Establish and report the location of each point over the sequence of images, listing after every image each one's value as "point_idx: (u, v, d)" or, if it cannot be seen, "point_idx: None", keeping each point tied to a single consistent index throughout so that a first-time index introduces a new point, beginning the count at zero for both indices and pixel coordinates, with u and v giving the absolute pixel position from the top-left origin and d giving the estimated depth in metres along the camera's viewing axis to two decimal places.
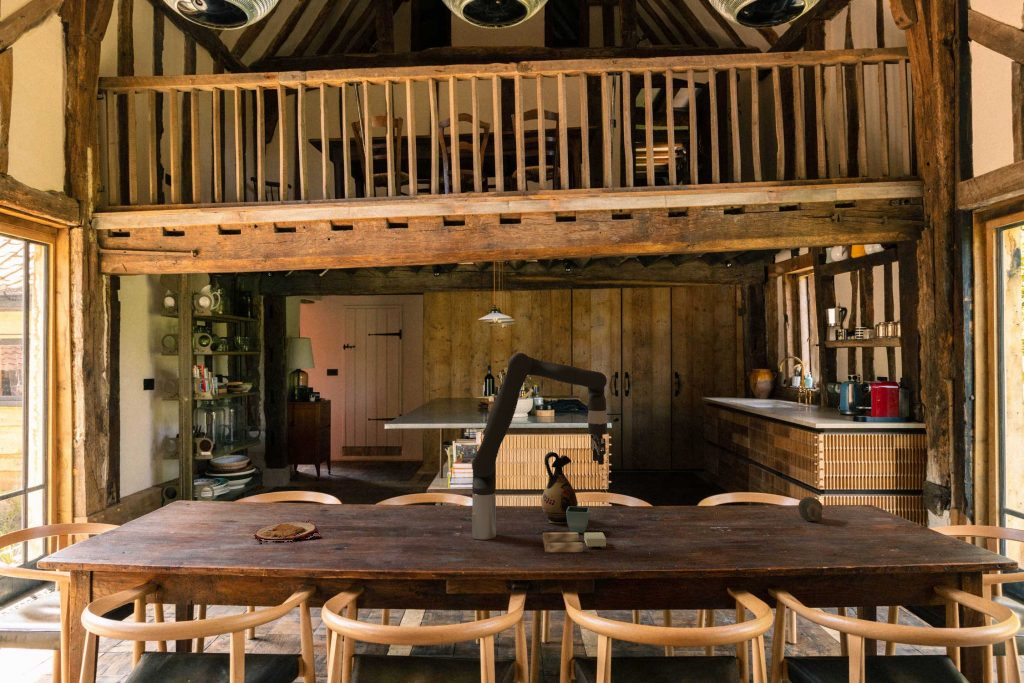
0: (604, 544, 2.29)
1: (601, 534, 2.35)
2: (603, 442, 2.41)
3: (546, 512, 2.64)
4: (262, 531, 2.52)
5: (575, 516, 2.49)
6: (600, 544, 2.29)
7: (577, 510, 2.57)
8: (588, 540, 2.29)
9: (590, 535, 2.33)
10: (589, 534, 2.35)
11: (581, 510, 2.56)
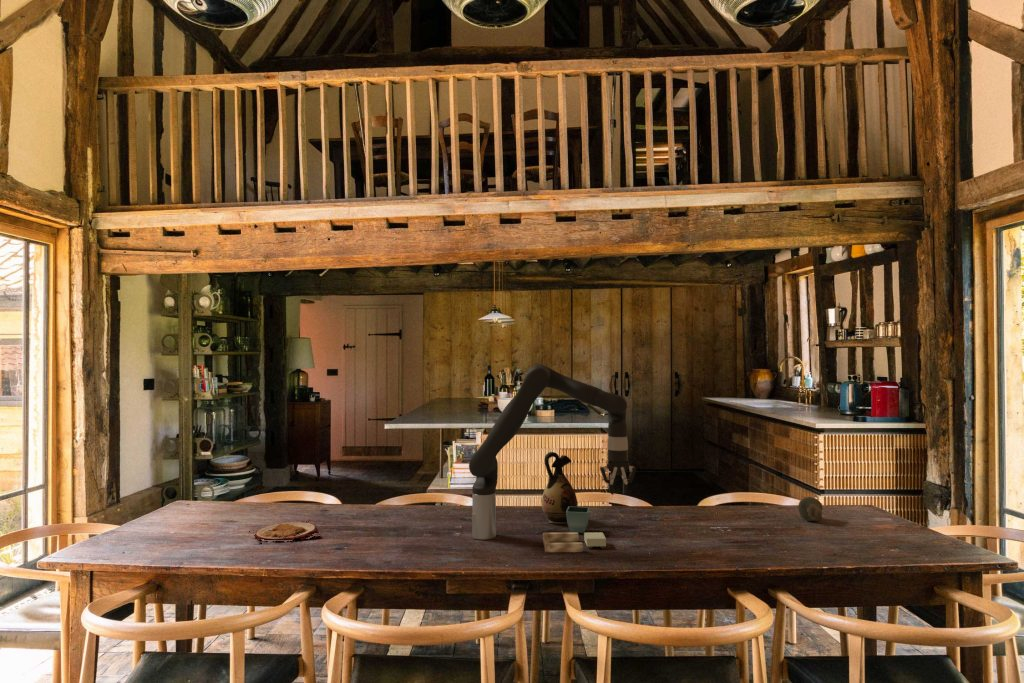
0: (604, 544, 2.29)
1: (601, 534, 2.35)
2: None
3: (546, 512, 2.64)
4: (262, 531, 2.52)
5: (575, 516, 2.49)
6: (600, 544, 2.29)
7: (577, 510, 2.57)
8: (588, 540, 2.29)
9: (590, 535, 2.33)
10: (589, 534, 2.35)
11: (581, 510, 2.56)
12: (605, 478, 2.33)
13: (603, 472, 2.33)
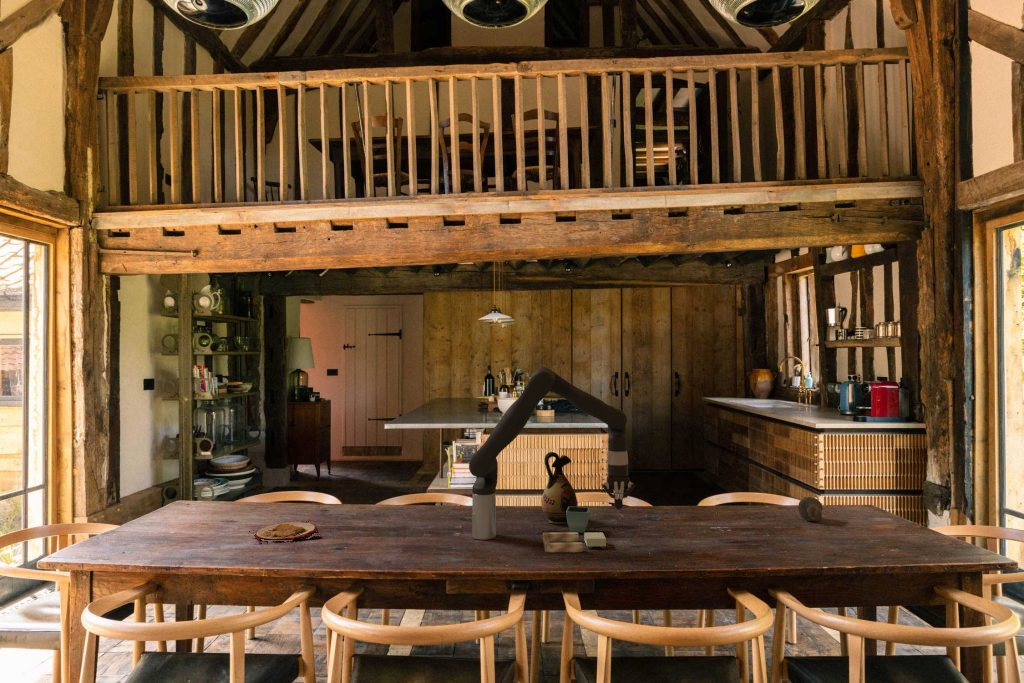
0: (604, 544, 2.29)
1: (601, 534, 2.35)
2: None
3: (546, 512, 2.64)
4: (262, 531, 2.52)
5: (575, 516, 2.49)
6: (600, 544, 2.29)
7: (577, 510, 2.57)
8: (588, 540, 2.29)
9: (590, 535, 2.33)
10: (589, 534, 2.35)
11: (582, 510, 2.56)
12: (609, 494, 2.33)
13: (606, 489, 2.33)
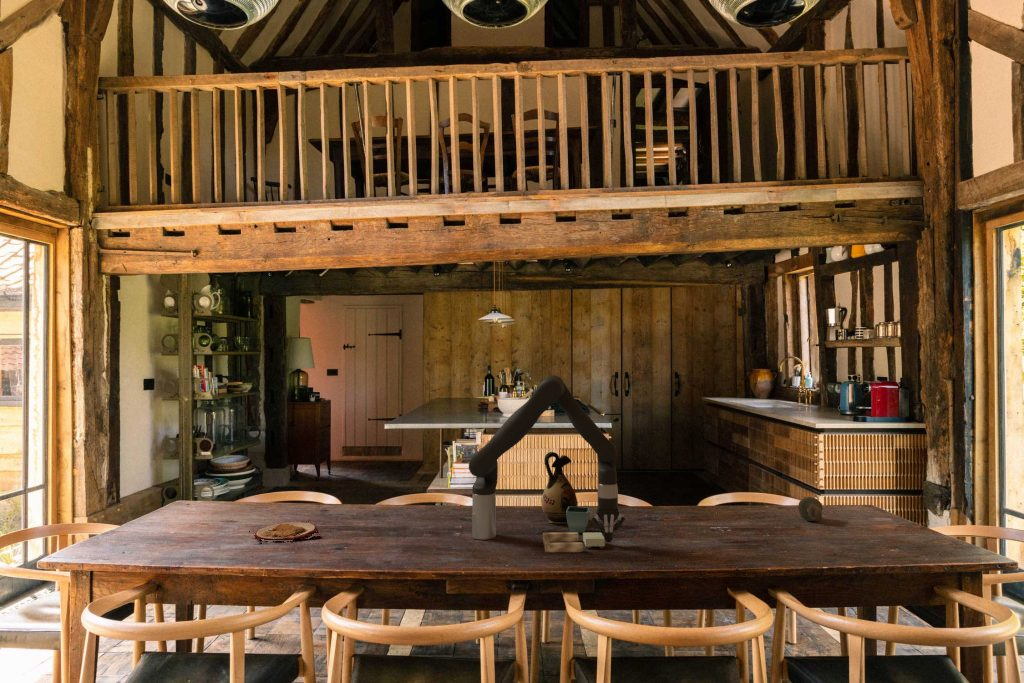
0: (603, 544, 2.29)
1: (600, 534, 2.35)
2: None
3: (546, 512, 2.64)
4: (262, 531, 2.52)
5: (575, 516, 2.49)
6: (599, 544, 2.29)
7: (577, 510, 2.57)
8: (587, 540, 2.29)
9: (588, 535, 2.33)
10: (588, 534, 2.35)
11: (581, 510, 2.56)
12: (599, 526, 2.32)
13: (595, 521, 2.32)
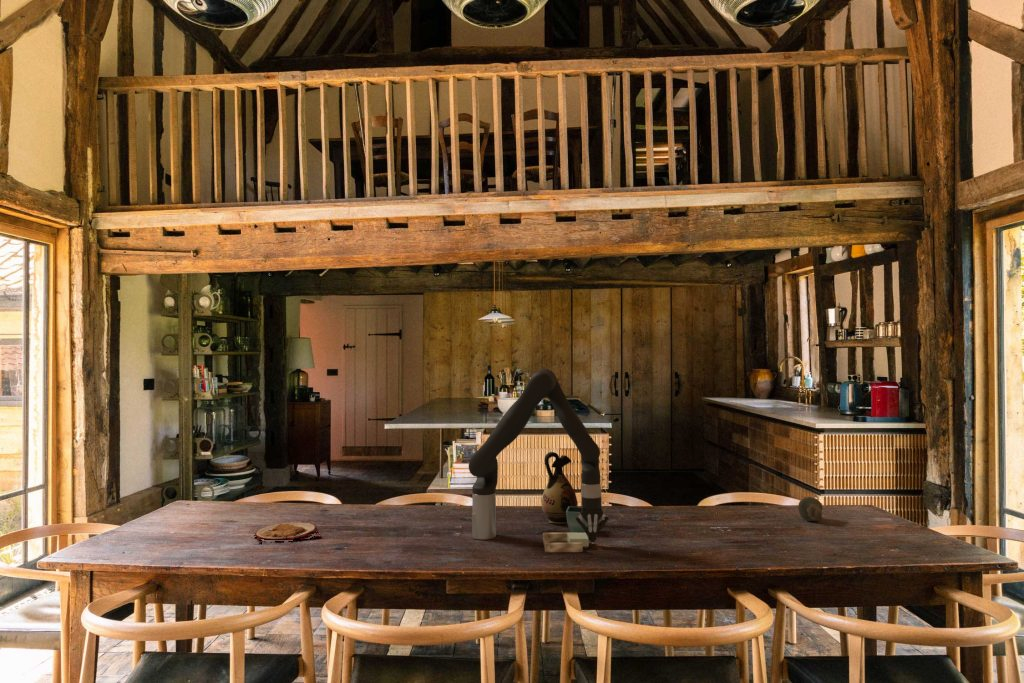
0: (587, 544, 2.29)
1: (584, 534, 2.35)
2: None
3: (546, 512, 2.64)
4: (262, 531, 2.52)
5: (575, 516, 2.49)
6: (583, 544, 2.29)
7: (577, 510, 2.57)
8: (571, 540, 2.29)
9: (572, 535, 2.33)
10: (572, 534, 2.35)
11: None
12: (583, 526, 2.32)
13: (579, 521, 2.32)
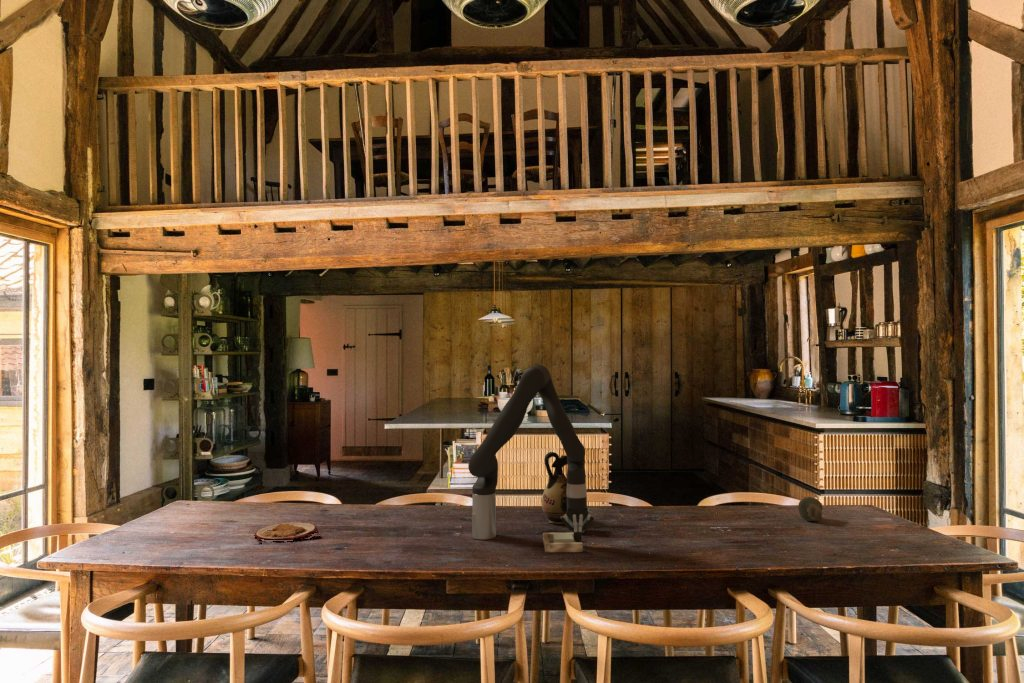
0: None
1: (569, 534, 2.34)
2: None
3: (546, 512, 2.64)
4: (262, 531, 2.52)
5: None
6: None
7: None
8: (556, 541, 2.29)
9: (558, 536, 2.33)
10: (557, 535, 2.34)
11: None
12: (568, 526, 2.32)
13: (564, 521, 2.32)
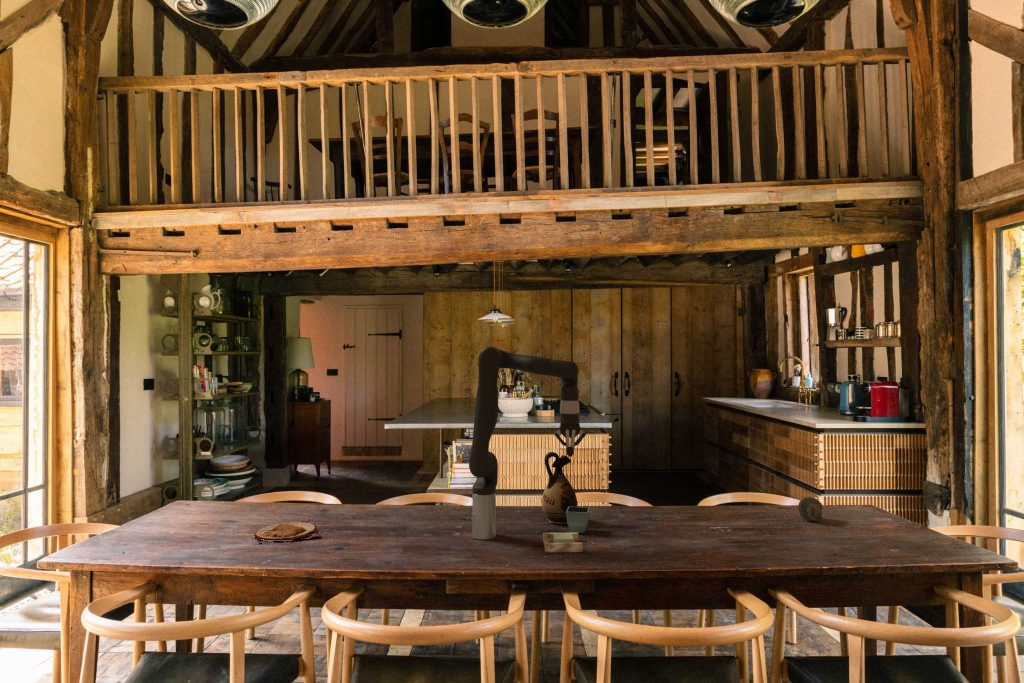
0: None
1: (569, 534, 2.34)
2: None
3: (546, 512, 2.64)
4: (262, 531, 2.52)
5: (575, 516, 2.49)
6: None
7: (577, 510, 2.57)
8: (556, 541, 2.29)
9: (558, 536, 2.33)
10: (557, 534, 2.34)
11: (582, 510, 2.56)
12: (561, 441, 2.42)
13: (558, 436, 2.42)
